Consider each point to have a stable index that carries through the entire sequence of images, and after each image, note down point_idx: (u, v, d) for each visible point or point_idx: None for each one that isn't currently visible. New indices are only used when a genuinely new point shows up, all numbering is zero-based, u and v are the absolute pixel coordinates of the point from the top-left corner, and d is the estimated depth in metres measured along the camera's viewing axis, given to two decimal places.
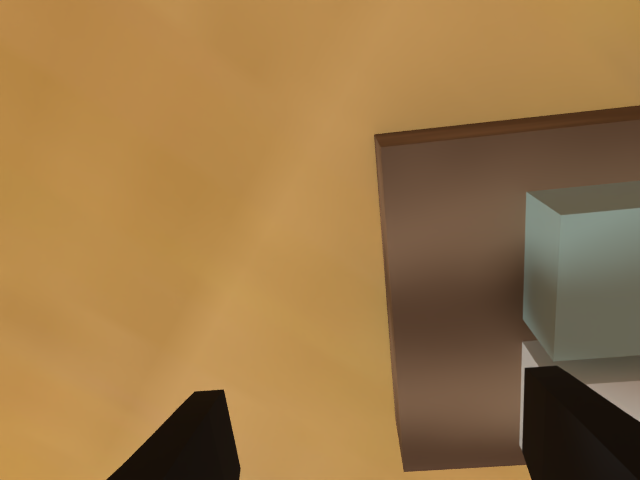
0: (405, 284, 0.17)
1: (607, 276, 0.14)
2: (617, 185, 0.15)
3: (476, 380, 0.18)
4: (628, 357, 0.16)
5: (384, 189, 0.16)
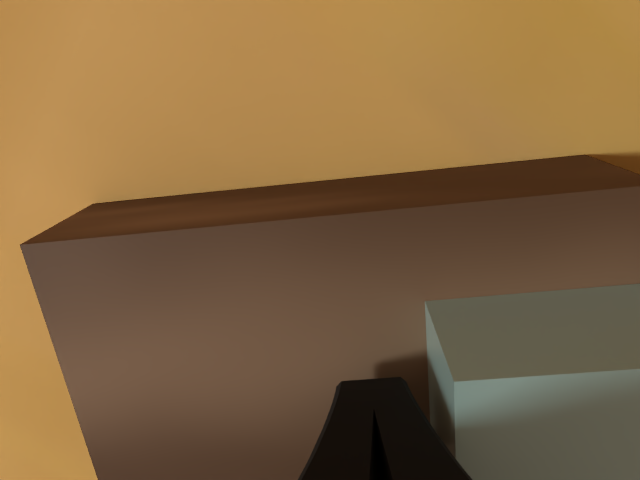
0: (107, 441, 0.11)
1: (544, 478, 0.08)
2: (571, 295, 0.09)
3: None
4: None
5: (44, 306, 0.10)
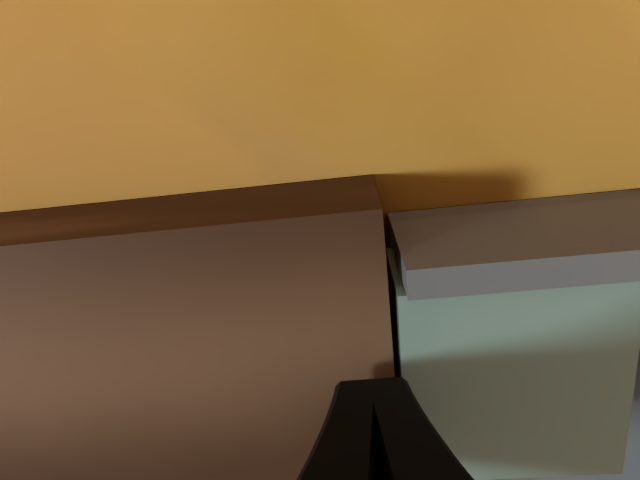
0: None
1: (469, 377, 0.10)
2: None
3: None
4: None
5: None
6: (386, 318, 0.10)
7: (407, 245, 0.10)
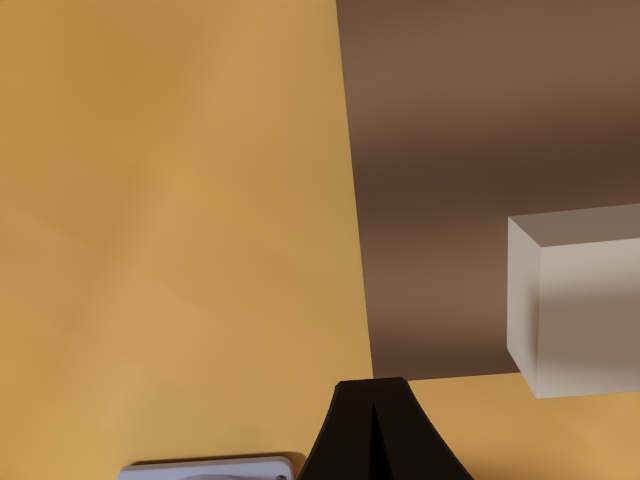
0: (367, 145, 0.14)
1: None
2: None
3: (455, 267, 0.15)
4: (634, 220, 0.13)
5: (339, 19, 0.13)
6: None
7: None
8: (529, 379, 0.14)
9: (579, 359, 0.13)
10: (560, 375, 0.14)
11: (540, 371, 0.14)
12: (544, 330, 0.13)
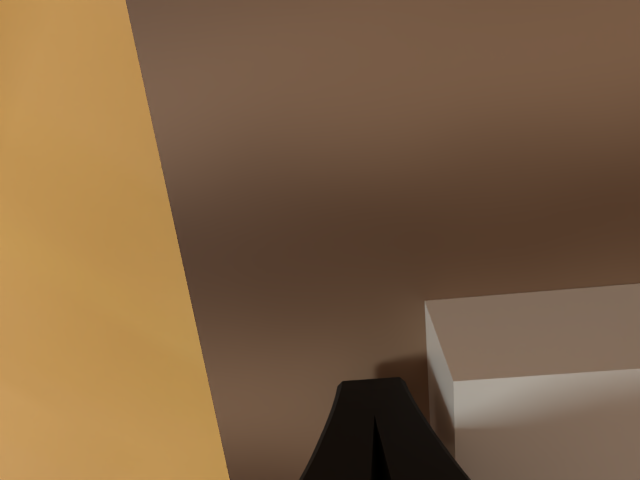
0: (194, 191, 0.09)
1: None
2: None
3: (344, 372, 0.10)
4: (616, 324, 0.08)
5: None
6: None
7: None
8: None
9: None
10: None
11: None
12: None
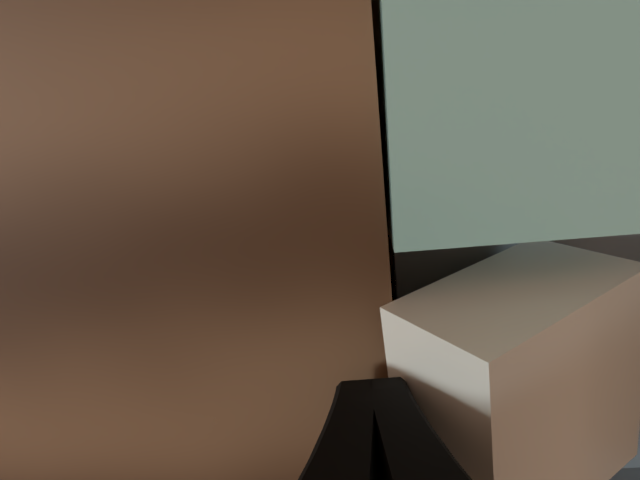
0: None
1: (468, 94, 0.08)
2: None
3: None
4: (539, 277, 0.10)
5: None
6: (367, 16, 0.08)
7: None
8: None
9: None
10: None
11: None
12: None
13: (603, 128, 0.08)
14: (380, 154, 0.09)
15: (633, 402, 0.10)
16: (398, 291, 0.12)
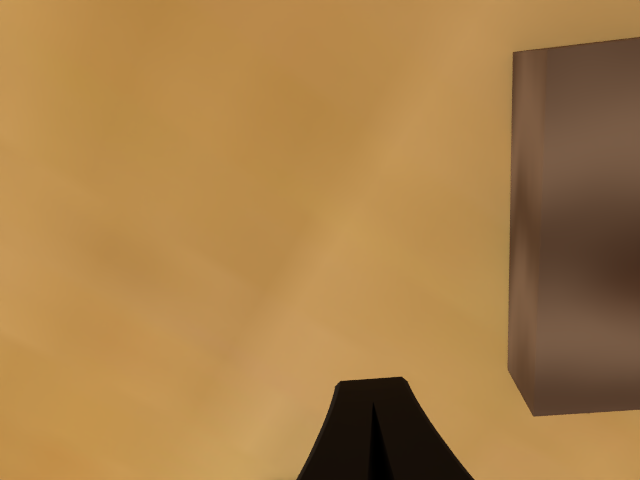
0: (557, 206, 0.16)
1: None
2: None
3: (623, 314, 0.17)
4: None
5: (545, 98, 0.15)
6: None
7: None
8: None
9: None
10: None
11: None
12: None
13: None
14: None
15: None
16: None
